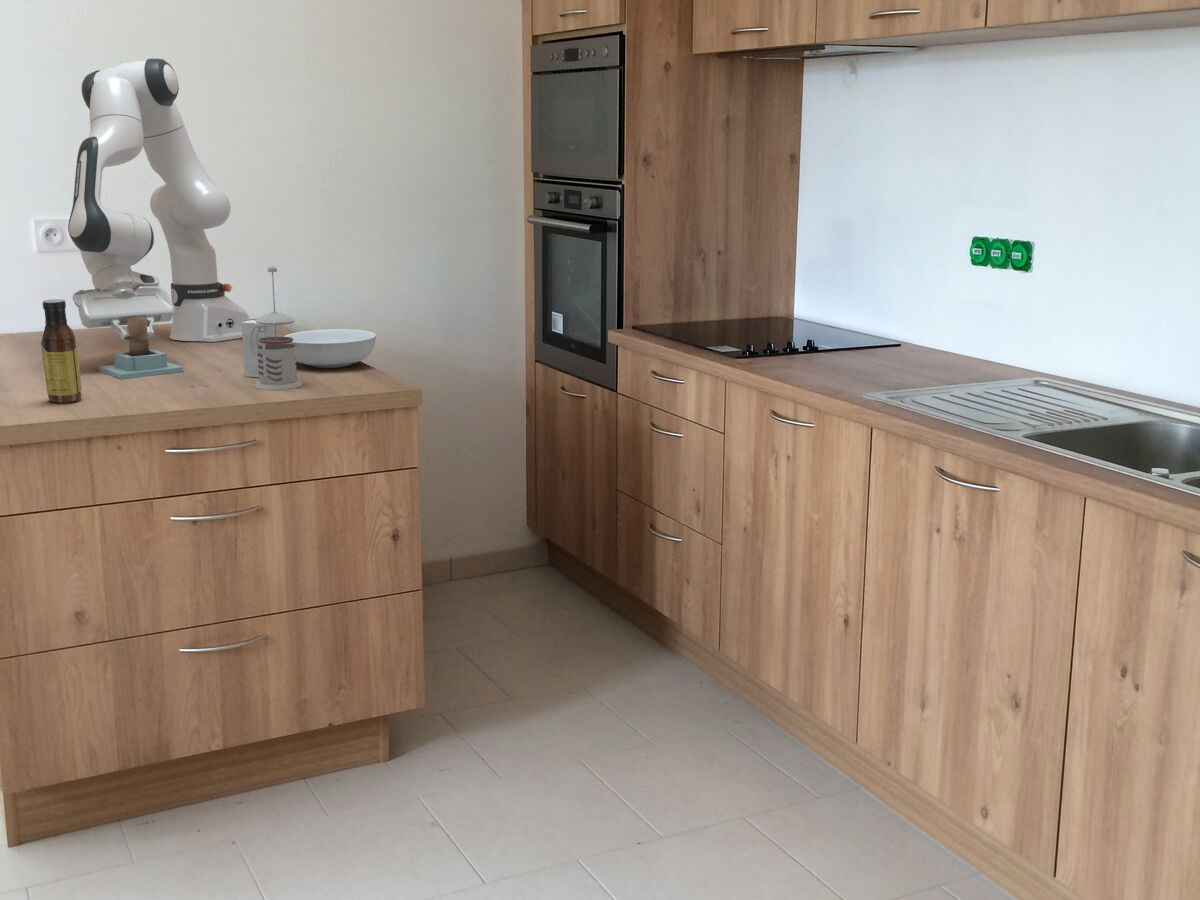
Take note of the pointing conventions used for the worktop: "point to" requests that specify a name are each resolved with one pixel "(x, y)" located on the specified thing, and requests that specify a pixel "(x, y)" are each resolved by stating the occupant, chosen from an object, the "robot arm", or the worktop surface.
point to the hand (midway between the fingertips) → (138, 337)
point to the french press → (276, 352)
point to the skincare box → (254, 345)
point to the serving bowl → (332, 347)
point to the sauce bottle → (60, 355)
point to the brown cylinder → (138, 336)
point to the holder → (140, 365)
